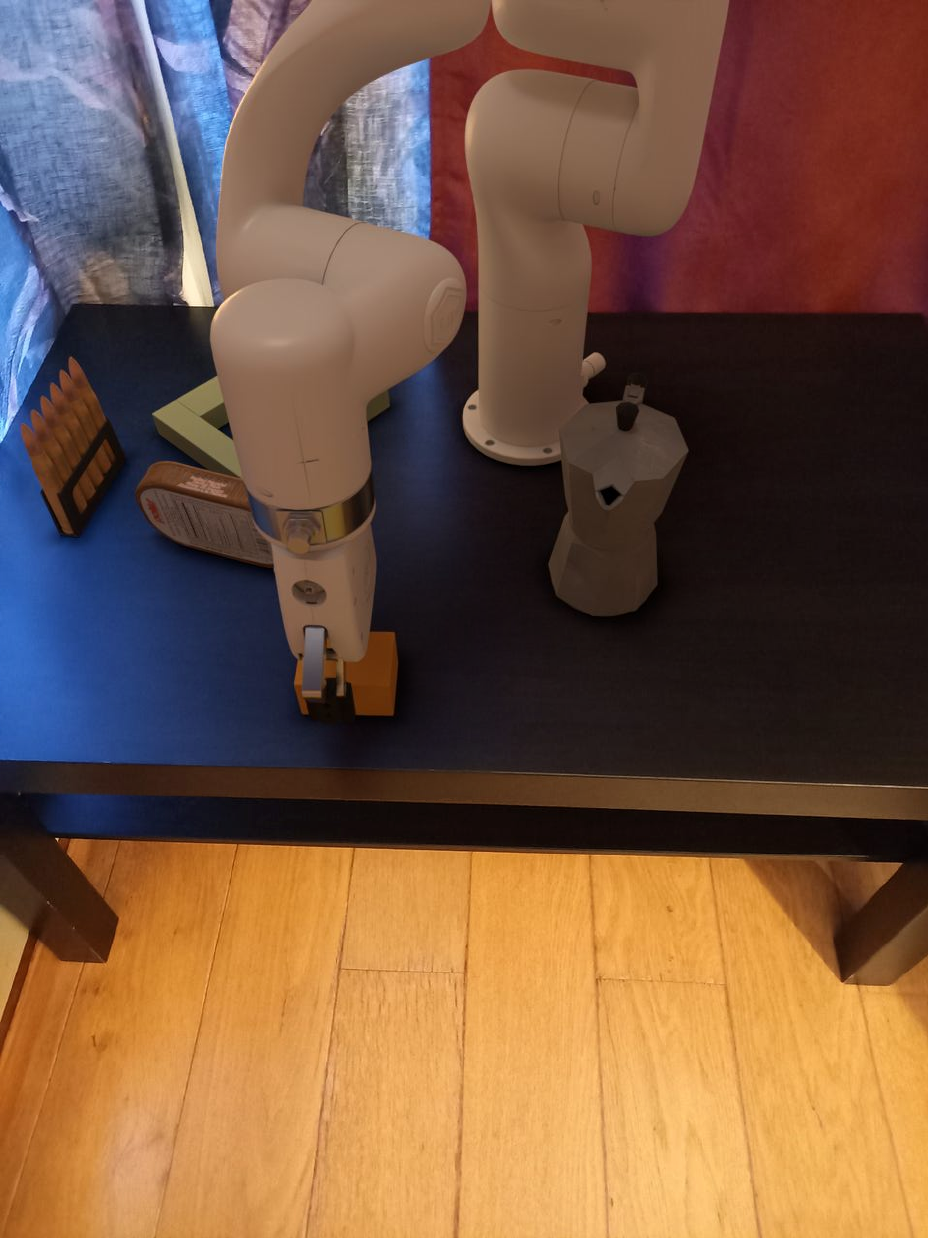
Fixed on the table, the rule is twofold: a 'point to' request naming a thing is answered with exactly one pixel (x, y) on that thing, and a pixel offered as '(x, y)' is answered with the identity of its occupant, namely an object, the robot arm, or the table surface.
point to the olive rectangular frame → (215, 426)
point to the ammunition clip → (72, 451)
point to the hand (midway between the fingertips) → (341, 663)
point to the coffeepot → (614, 501)
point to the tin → (202, 512)
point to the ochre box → (366, 676)
